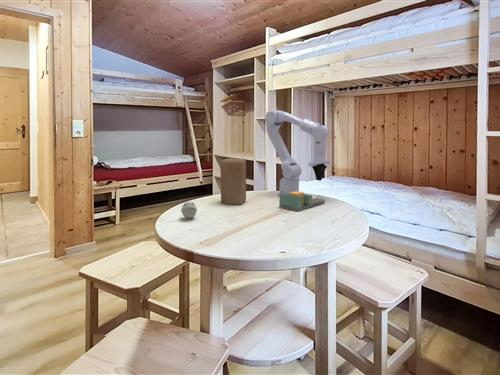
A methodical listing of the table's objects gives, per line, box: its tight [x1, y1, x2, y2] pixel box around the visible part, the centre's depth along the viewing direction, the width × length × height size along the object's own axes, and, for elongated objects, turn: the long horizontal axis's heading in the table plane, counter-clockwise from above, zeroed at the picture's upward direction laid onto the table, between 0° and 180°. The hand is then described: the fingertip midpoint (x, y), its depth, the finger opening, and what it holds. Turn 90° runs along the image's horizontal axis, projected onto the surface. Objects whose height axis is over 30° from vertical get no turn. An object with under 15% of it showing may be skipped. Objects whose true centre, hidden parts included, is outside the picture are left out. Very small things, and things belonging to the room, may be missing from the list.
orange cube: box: [289, 191, 305, 204], centre depth 146 cm, size 4×5×5 cm
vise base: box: [278, 193, 326, 212], centre depth 149 cm, size 10×20×6 cm, turn 134°
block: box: [219, 158, 247, 206], centre depth 154 cm, size 10×10×20 cm
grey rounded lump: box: [180, 200, 198, 219], centre depth 129 cm, size 6×7×7 cm
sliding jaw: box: [304, 193, 319, 205], centre depth 150 cm, size 10×7×4 cm
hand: (318, 180), depth 160 cm, fingers closed
